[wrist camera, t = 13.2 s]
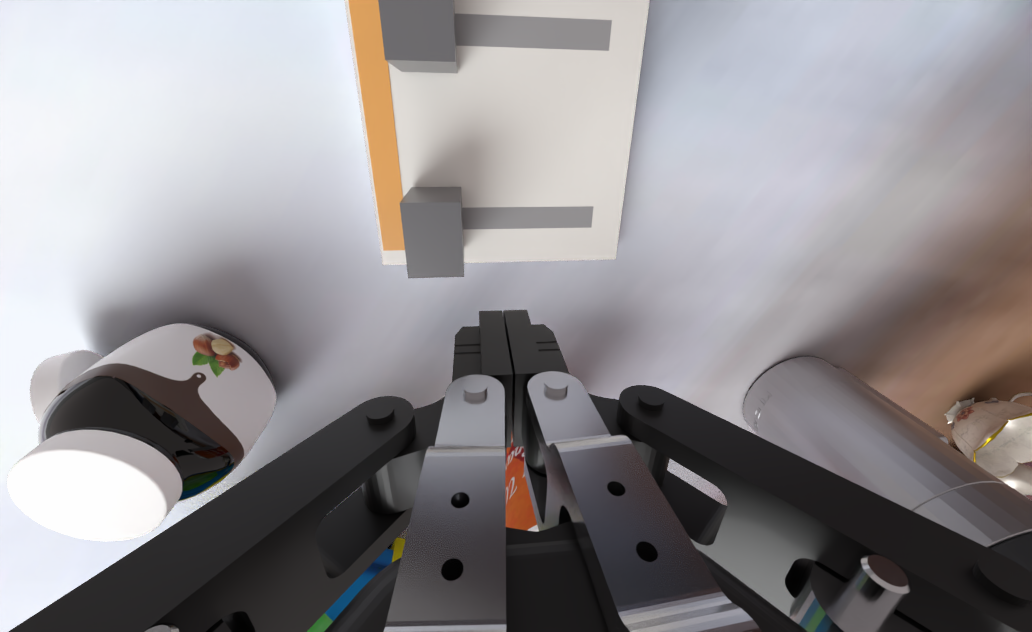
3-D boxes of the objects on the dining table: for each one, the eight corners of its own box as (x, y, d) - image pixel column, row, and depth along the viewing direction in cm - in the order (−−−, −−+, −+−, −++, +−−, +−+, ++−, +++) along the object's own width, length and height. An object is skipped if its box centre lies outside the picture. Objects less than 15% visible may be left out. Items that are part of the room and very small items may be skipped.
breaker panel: (639, -21, 23) (654, -33, 21) (606, 250, 30) (615, 259, 28) (348, -37, 21) (336, -51, 19) (387, 255, 28) (382, 265, 26)
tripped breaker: (461, 186, 24) (460, 202, 20) (464, 249, 26) (464, 276, 22) (411, 187, 24) (399, 202, 20) (418, 250, 26) (408, 278, 21)
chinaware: (948, 353, 41) (1205, 480, 26) (1063, 398, 44) (1357, 537, 29) (783, 528, 52) (896, 690, 37) (883, 556, 54) (1028, 718, 39)
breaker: (453, -20, 20) (449, -59, 16) (457, 73, 22) (455, 61, 17) (392, -23, 20) (371, -64, 15) (401, 71, 21) (384, 59, 17)
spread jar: (304, 387, 32) (228, 515, 22) (204, 452, 34) (89, 600, 24) (170, 272, 27) (-14, 369, 17) (59, 356, 29) (-170, 491, 18)
